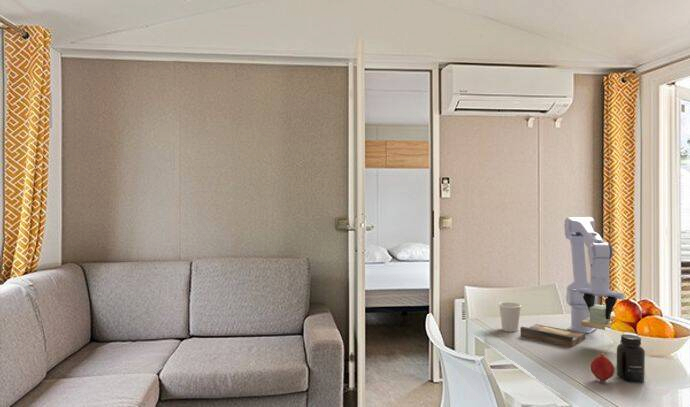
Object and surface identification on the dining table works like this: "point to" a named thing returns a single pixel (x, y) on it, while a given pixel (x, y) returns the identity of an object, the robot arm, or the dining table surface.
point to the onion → (602, 368)
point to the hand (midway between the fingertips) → (600, 317)
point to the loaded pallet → (593, 325)
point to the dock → (552, 335)
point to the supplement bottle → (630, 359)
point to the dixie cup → (510, 316)
